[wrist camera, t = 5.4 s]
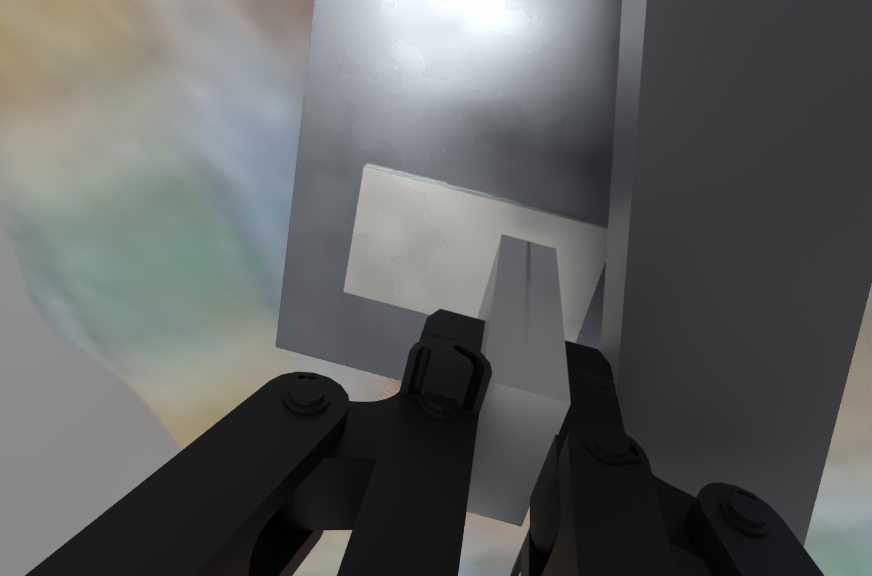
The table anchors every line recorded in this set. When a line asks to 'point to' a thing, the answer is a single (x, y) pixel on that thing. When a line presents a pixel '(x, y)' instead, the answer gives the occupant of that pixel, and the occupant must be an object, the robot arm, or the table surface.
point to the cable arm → (739, 237)
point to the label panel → (445, 166)
